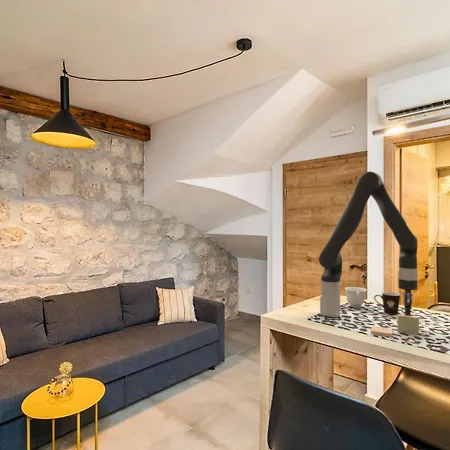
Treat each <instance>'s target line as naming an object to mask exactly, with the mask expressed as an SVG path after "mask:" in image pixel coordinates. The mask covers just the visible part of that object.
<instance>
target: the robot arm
mask: <svg viewBox="0 0 450 450" xmlns="http://www.w3.org/2000/svg"><path fill="white" fill-rule="evenodd" d="M370 198H373V200H374V201H375V203H376V205H377V207H378V208H379V211H380V214H381V216H382V217H383V219H384V221H385V223H386V224H387V226H388V228H389V229H390V230H391V232H392V233H393V236H394V238H395V240H396V242H397V244H398V245H399V253H400V254H399V258H398V273H397V275H398V276H397V283H398V285H397V286H398V289H400V290H404V292H403V291H402V301H403V302H402V303H403V305H404V315H408V316H412V315H411V313H412V308H413V307H412V305H413V299H414V293H413V292H412V291H417V290H418V288H419V287H418V286H419V285H418V283H419V281H418V280H419V278H418V277H419V275H418V274H419V273H418V258H417V256H418V255H417V254H418V238H417V236H416V235H415V234H414V233H413V232H412V230H411V229H410V228H409V226H408V224H407V222H406V220H405V218H404V217H403V215H402V214H401V213H402V212H400V210H399V208H397V206H396V205H395V203H394V202H393V200H392V198H391V196H390V195H389V193H388V191H387V188H386V187H385V184H384V182H383V179H382V177H381V175H380V174H378V173H377V172H374V171H370V170H369V171H365V172H364V173H363V172H362V174H361V175H360V176H359V178H358V180H357V183H356V185H355V188H354V190H353V193H352V195H351V197H350V199H349V201H348V202H347V204H346V206H345V207H344V210H343V211H342V213H341V215H340V217H339V219H338V221H337V223H336V226H335V227H334V229H333V232H332V233H331V236H330V237H329V239H328V241H327V243H326V244H325V246H324V248H323V249H322V251H321V252H320V254H319V257H318V262H319V264H320V266H321V267H323V268H324V269H323V273H322V274H321V280H320V282H321V283H320V284H321V286H320V289H321V290H320V297H319V310H320V311H319V314H320V316H324V317H329V318H337V317H340V316H341V277H342V273H343V256H342V254H341V250H342V248H343V247H344V246H345V244H346V243H347V242H348V241H349V240H350V238H351V237H352V236H353V235H354V234H355V232H356V231H357V229H358V227H359V225H360V224H361V221H362V219H363V216H364V212H365V208H366V205H367V202H368V201H369V199H370Z"/></svg>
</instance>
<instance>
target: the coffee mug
mask: <svg viewBox="0 0 450 450" xmlns="http://www.w3.org/2000/svg"><path fill="white" fill-rule="evenodd" d="M376 297H380V298H381V299H382V303H380V302H378V301H377V299H376ZM373 299H374V302H376V303H377V304H378V305H380V306H381V307H382V308H383V312H384V314H386V315H387V314H388V315H398V314H399V308H400V302H401V301H400V300H401V294H400V293H398V292H391V291H384V292H381V295H380V294H375V295H374V296H373Z"/></svg>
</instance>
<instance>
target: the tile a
mask: <svg viewBox="0 0 450 450" xmlns="http://www.w3.org/2000/svg"><path fill="white" fill-rule="evenodd" d="M370 334H371V335H377V336H384V337H392V338H393V329H392V328H388V327H380V326H371V328H370Z"/></svg>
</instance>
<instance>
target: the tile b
mask: <svg viewBox="0 0 450 450" xmlns="http://www.w3.org/2000/svg"><path fill="white" fill-rule="evenodd" d="M396 315H397V323H396V324H397V325H396V327H397V332H400V333H406V334H413V335H414V334H415V335H420V316H416V315H411V316H408V315H405V314H399V313H398V314H396Z"/></svg>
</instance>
